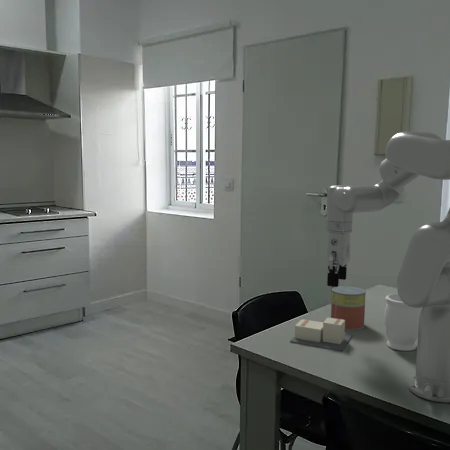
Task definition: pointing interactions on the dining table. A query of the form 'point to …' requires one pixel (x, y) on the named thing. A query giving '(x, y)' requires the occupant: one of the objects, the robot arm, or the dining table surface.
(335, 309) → the canned food
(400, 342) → the jar
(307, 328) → the cream striped box
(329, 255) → the robot arm
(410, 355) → the dining table surface
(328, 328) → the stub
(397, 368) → the dining table surface
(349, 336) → the mat
